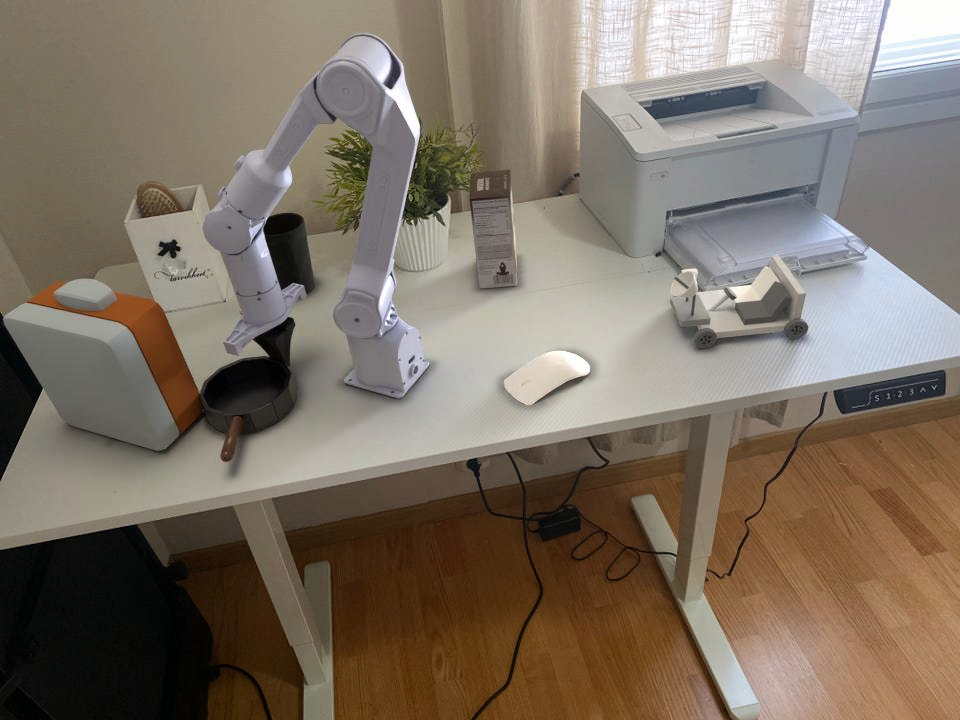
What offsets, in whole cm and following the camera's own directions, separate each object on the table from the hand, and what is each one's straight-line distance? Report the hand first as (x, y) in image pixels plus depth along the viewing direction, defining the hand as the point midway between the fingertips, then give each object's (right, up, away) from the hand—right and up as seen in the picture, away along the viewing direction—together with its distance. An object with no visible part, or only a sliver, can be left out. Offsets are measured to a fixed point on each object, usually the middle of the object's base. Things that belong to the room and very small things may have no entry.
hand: (282, 365), depth 104 cm
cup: (-2, +13, +19) cm, 23 cm away
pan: (-3, -8, -7) cm, 11 cm away
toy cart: (+63, +6, +1) cm, 64 cm away
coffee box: (+31, +15, +17) cm, 38 cm away
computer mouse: (+37, -2, -5) cm, 38 cm away
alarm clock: (-19, -7, -4) cm, 21 cm away
